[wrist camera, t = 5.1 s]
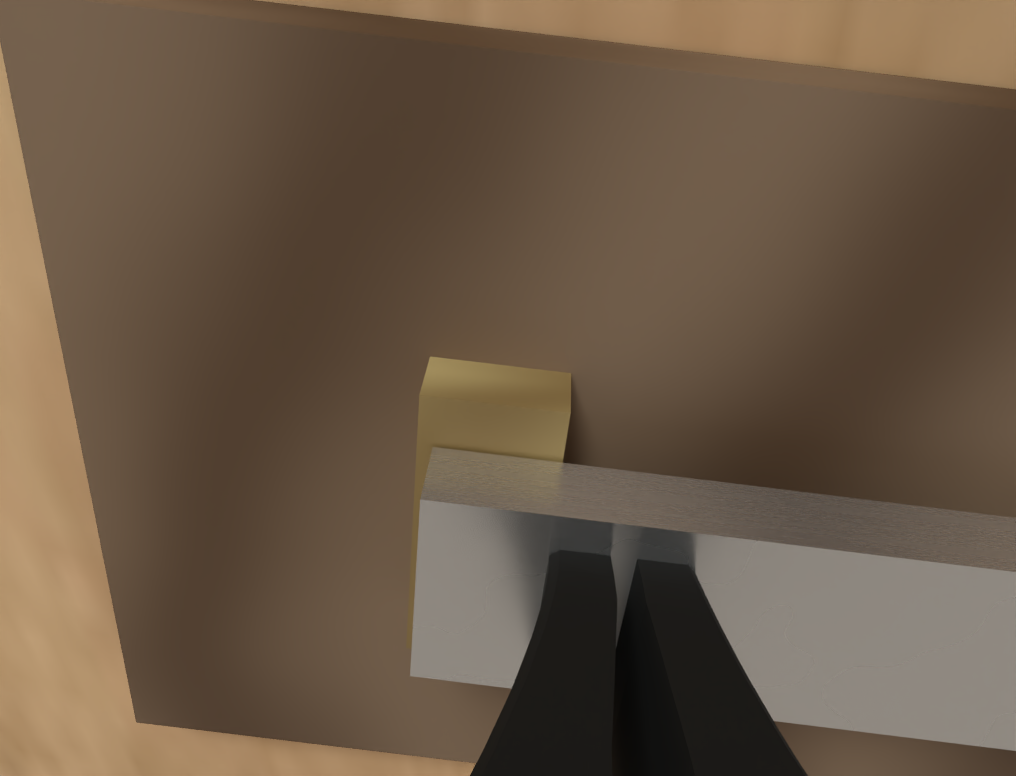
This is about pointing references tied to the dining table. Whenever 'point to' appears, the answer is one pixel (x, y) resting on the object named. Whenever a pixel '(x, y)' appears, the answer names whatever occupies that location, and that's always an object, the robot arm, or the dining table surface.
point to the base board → (483, 319)
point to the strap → (737, 587)
